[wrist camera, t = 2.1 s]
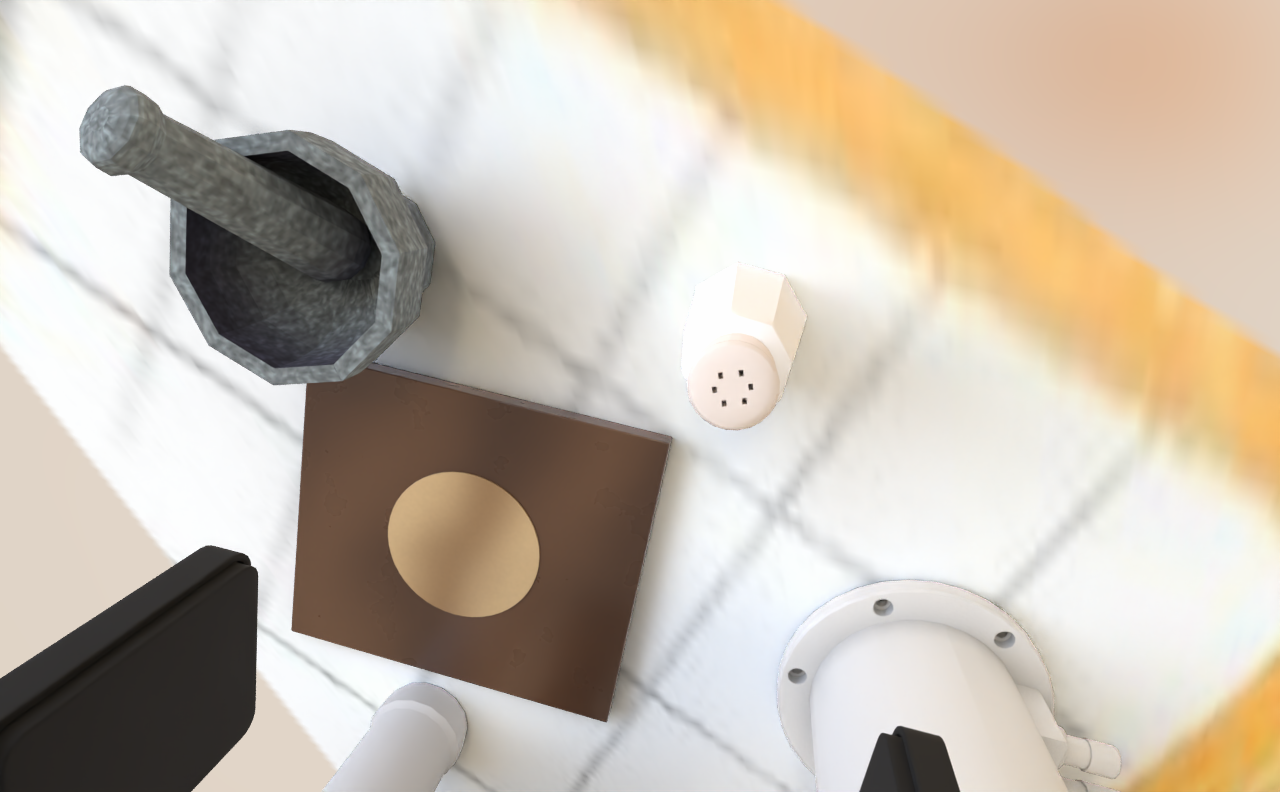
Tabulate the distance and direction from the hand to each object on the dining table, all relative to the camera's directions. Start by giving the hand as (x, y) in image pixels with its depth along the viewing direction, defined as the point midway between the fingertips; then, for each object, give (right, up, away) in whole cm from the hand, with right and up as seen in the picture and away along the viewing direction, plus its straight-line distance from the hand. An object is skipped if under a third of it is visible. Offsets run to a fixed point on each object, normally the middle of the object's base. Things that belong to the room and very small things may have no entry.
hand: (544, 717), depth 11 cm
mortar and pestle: (-11, +12, +24) cm, 29 cm away
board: (-7, -3, +27) cm, 28 cm away
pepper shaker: (+6, +8, +22) cm, 24 cm away
